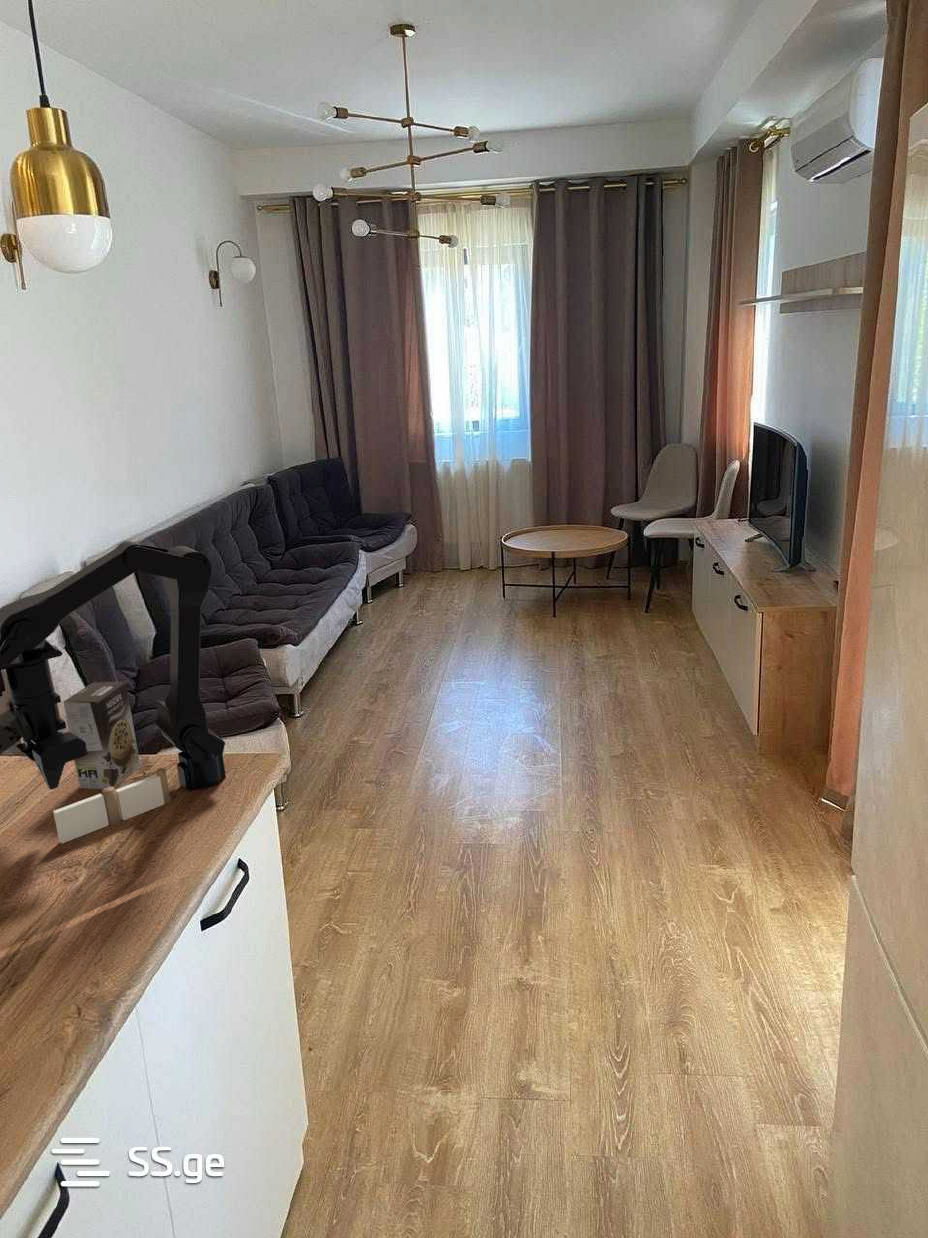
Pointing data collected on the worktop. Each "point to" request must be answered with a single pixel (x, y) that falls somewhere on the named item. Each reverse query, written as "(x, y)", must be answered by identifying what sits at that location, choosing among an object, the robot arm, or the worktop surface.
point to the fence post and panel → (136, 797)
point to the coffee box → (103, 734)
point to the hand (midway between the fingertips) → (53, 788)
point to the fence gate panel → (81, 818)
